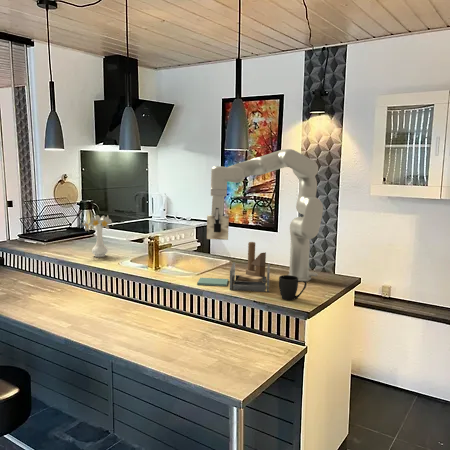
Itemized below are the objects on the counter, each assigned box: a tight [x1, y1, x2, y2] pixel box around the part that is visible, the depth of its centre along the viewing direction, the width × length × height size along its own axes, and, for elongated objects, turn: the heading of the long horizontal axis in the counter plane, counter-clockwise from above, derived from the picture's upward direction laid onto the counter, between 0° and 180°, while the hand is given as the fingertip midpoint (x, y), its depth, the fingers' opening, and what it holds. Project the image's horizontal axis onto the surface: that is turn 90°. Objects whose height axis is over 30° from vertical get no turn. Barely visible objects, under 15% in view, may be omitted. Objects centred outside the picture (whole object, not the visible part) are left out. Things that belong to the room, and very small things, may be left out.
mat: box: [196, 277, 229, 287], centre depth 216 cm, size 14×10×1 cm
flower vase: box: [81, 214, 114, 258], centre depth 267 cm, size 13×18×25 cm
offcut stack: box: [237, 273, 263, 282], centre depth 216 cm, size 12×5×4 cm, turn 58°
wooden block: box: [245, 241, 267, 277], centre depth 226 cm, size 4×11×18 cm, turn 39°
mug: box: [278, 274, 308, 302], centre depth 192 cm, size 8×12×10 cm
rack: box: [229, 261, 271, 293], centre depth 212 cm, size 18×18×9 cm
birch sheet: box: [206, 214, 230, 241], centre depth 211 cm, size 10×2×11 cm, turn 85°
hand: (217, 231), depth 211 cm, fingers closed on birch sheet, 2 cm apart
